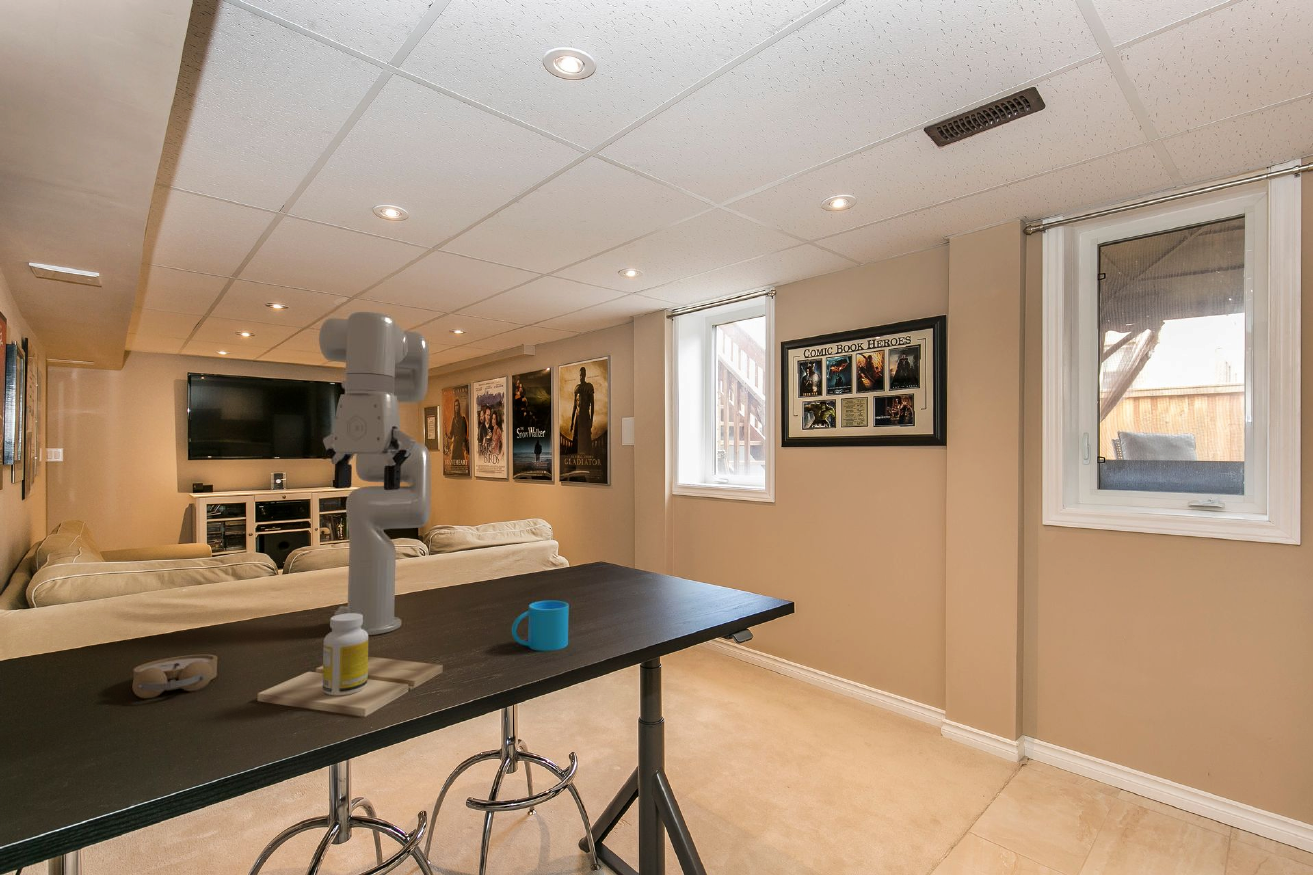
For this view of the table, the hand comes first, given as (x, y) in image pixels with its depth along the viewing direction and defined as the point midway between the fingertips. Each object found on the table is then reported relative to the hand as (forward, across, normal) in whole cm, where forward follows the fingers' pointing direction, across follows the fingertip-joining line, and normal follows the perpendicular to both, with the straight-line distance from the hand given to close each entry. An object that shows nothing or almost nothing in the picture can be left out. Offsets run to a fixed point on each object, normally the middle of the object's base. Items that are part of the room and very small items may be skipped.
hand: (367, 488), depth 103 cm
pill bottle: (+32, 0, -3) cm, 32 cm away
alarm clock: (+34, -30, -8) cm, 46 cm away
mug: (+34, +18, +30) cm, 49 cm away
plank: (+33, -2, -4) cm, 34 cm away
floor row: (+33, -2, +7) cm, 34 cm away
